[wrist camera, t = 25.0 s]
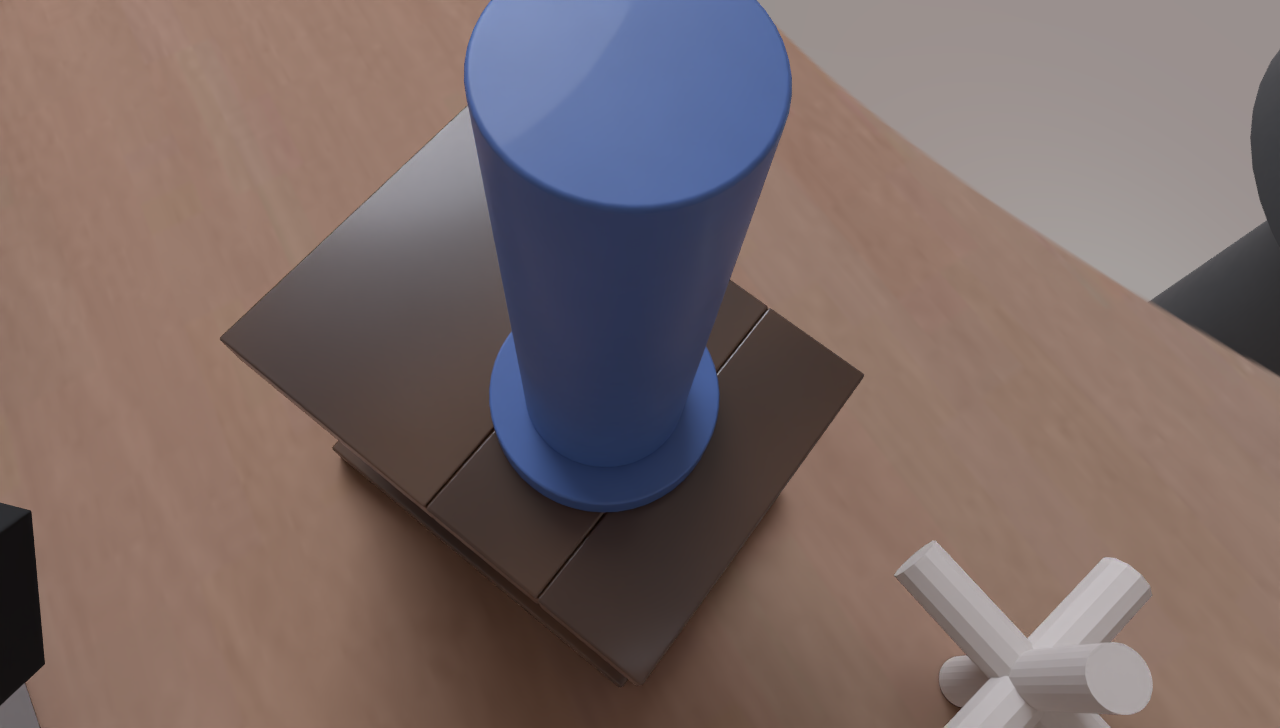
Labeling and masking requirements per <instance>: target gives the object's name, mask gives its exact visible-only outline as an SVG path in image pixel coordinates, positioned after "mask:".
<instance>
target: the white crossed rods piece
mask: <svg viewBox="0 0 1280 728" xmlns="http://www.w3.org/2000/svg"><path fill="white" fill-rule="evenodd" d="M894 576H895V577H896V578H897V579H898V580H899V582H900V583H901V584H902V585H903V586H904V587H905V588H906V589H907V590H908V591H909V592H910V594H911V595H912V596H913V597H914V598H915V599H916V600H917V601H918V602H919V603H920V605H921V606H922V607H923V608H924V609H925V610H926V611H927V612H928V613H929V614H930V616H931V617H932V618H933V619H934V620H935V621H936V622H937V623H938V624H939V625H940V626H941V628H942V629H943V630H944V631H945V632H946V633H947V634H948V635H949V636H950V637H951V639H952V640H953V641H954V642H955V643H956V644H957V645H958V646H959V647H960V648H961V650H962V651H963V652H964V653H965V654H966V656H955V657H953V658H950V659H949V660H947V661H946V662H945V663H944V664H943V666H942V667H941V670H940V673H939V684H940V688H941V690H942V693H943V694H944V696H945V697H946V698H947V699H948V700H949V701H950V702H951V703H952V704H954V705H956V706H958V707H962V708H961V710H960V711H959V712H958V713H957V714H956V715H955V716H954V717H953V718H952V719H951V720H950V721H949V722H948V723H947V724H946V725H945V727H944V728H1111V727H1110V726H1109V725H1108V724H1107V723H1106V722H1105V721H1104V720H1103V719H1102V718H1101V717H1100V716H1099V714H1114V715H1130V714H1134V713H1136V712H1139V711H1140V710H1142V709H1143V708H1144V707H1145V706H1146V705H1147V703H1148V702H1149V700H1150V698H1151V694H1152V677H1151V673H1150V670H1149V668H1148V666H1147V664H1146V662H1145V661H1144V660H1143V658H1142V657H1141V656H1140V655H1139V654H1138V653H1137V652H1136V651H1135V650H1133V649H1132V648H1130V647H1128V646H1126V645H1124V644H1121V643H1117V642H1111V641H1112V640H1113V639H1114V637H1115V636H1116V635H1117V634H1118V633H1119V632H1120V631H1121V630H1122V629H1123V627H1124V626H1125V625H1126V624H1127V623H1128V622H1129V621H1130V620H1131V619H1132V617H1133V616H1134V615H1135V614H1136V613H1137V612H1138V611H1139V610H1140V609H1141V607H1142V606H1143V605H1144V604H1145V603H1146V602H1147V601H1148V600H1149V599H1150V597H1151V596H1152V592H1151V587H1150V585H1149V584H1148V583H1147V581H1146V580H1145V579H1144V577H1143V576H1142V575H1141V574H1140V573H1139V572H1137V571H1136V570H1135V569H1134V568H1132V567H1131V566H1130V565H1129V564H1126V563H1124V562H1122V561H1120V560H1118V559H1116V558H1108V557H1104V558H1103V559H1102V560H1101V561H1100V562H1099V563H1098V564H1097V565H1096V566H1095V567H1094V568H1093V569H1092V570H1091V571H1090V572H1089V574H1088V575H1087V576H1086V577H1085V578H1084V579H1083V580H1082V581H1081V582H1080V583H1079V584H1078V585H1077V586H1076V587H1075V588H1074V589H1073V591H1072V592H1071V593H1070V594H1069V595H1068V596H1067V597H1066V598H1065V599H1064V600H1063V601H1062V602H1061V603H1060V604H1059V605H1058V606H1057V608H1056V609H1055V610H1054V611H1053V612H1052V613H1051V614H1050V615H1049V616H1048V617H1047V618H1046V619H1045V620H1044V621H1043V622H1042V623H1041V625H1040V626H1039V627H1038V628H1037V629H1036V630H1035V631H1034V632H1033V633H1032V634H1031V635H1030V636H1029V637H1028V638H1026V637H1025V636H1024V634H1023V633H1022V632H1021V631H1020V630H1019V629H1018V628H1017V627H1016V626H1015V625H1014V624H1013V623H1012V622H1011V621H1010V620H1009V618H1008V617H1007V616H1006V615H1005V614H1004V613H1003V612H1002V611H1001V610H1000V609H999V608H998V607H997V606H996V605H995V604H994V602H993V601H992V600H991V599H990V598H989V597H988V596H987V595H986V594H985V593H984V592H983V591H982V590H981V589H980V588H979V586H978V585H977V584H976V583H975V582H974V581H973V580H972V579H971V578H970V577H969V576H968V575H967V574H966V573H965V572H964V570H963V569H962V568H961V567H960V566H959V565H958V564H957V563H956V562H955V561H954V560H953V559H952V558H951V557H950V556H949V554H948V553H947V552H946V551H945V550H944V549H943V548H942V547H941V546H940V545H939V544H938V543H937V542H936V541H931V542H930V543H928V544H926V545H925V546H924V547H922V548H921V549H920V550H918V551H917V552H916V553H915V554H913V555H912V556H911V557H910V558H909V559H908V560H907V561H906V562H905V563H904V564H903V565H902V566H901V567H900V568H899V569H898V570H897V571H896V573H895V575H894Z"/></svg>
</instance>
